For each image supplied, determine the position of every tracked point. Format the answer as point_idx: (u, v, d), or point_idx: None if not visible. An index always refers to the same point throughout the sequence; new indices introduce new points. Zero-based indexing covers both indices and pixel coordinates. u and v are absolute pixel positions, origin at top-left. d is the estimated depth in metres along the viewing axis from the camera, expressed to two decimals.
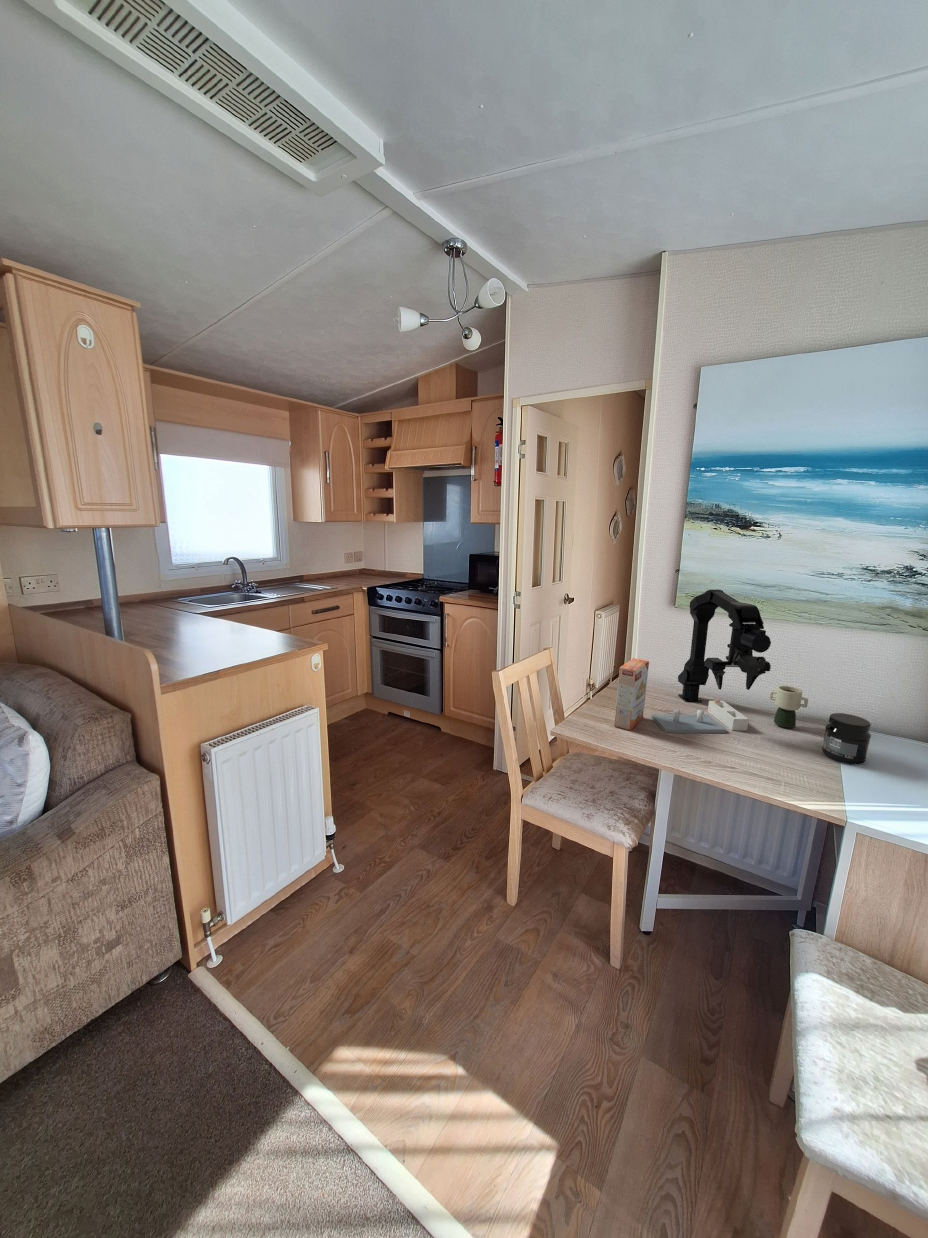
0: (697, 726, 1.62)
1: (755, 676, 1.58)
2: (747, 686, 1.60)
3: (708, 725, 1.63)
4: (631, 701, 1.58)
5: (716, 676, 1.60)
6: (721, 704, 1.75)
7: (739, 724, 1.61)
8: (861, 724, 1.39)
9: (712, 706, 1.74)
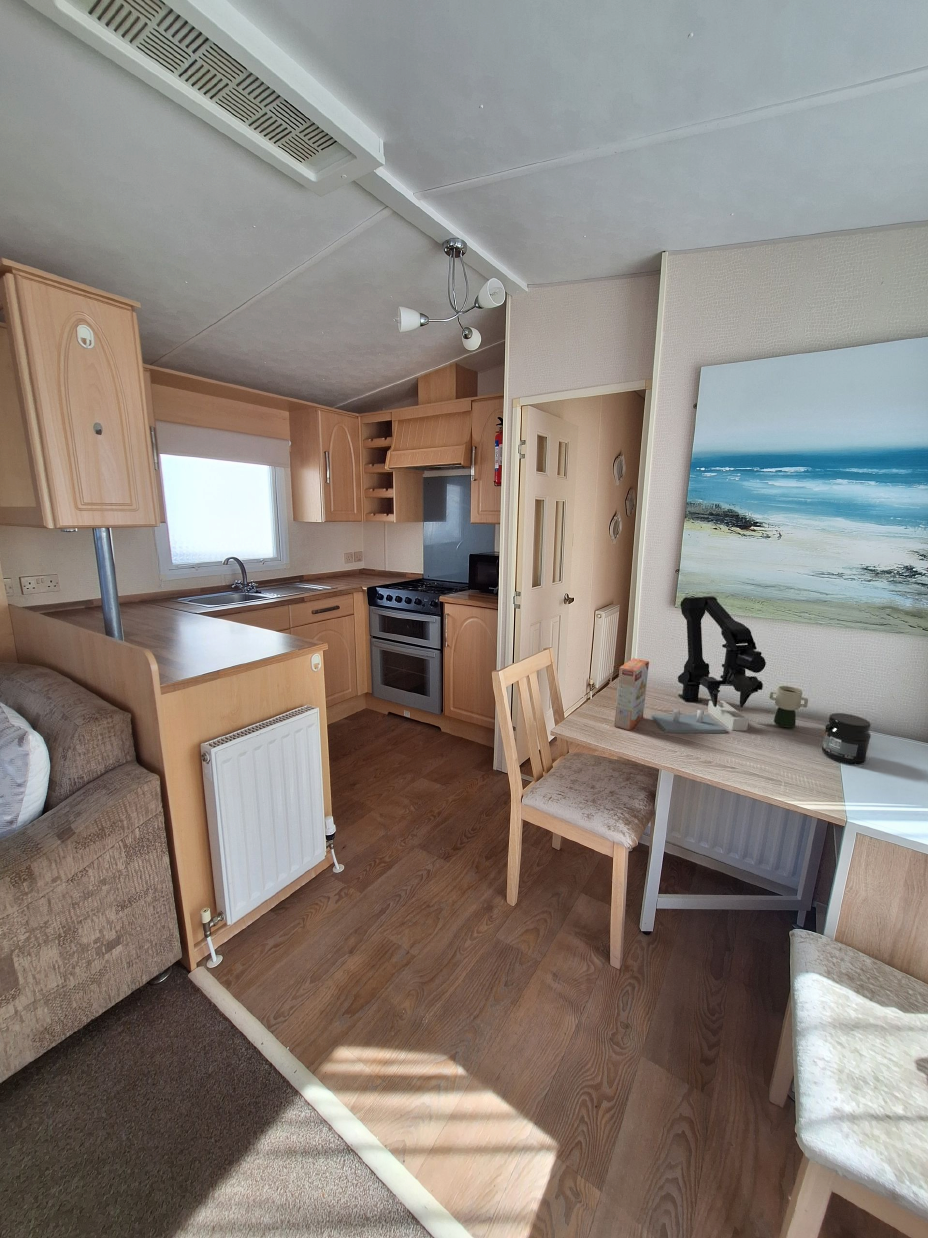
0: (697, 726, 1.62)
1: (748, 694, 1.66)
2: (741, 704, 1.68)
3: (708, 725, 1.63)
4: (631, 701, 1.58)
5: (711, 694, 1.68)
6: (721, 704, 1.75)
7: (739, 724, 1.61)
8: (861, 724, 1.39)
9: (712, 706, 1.74)
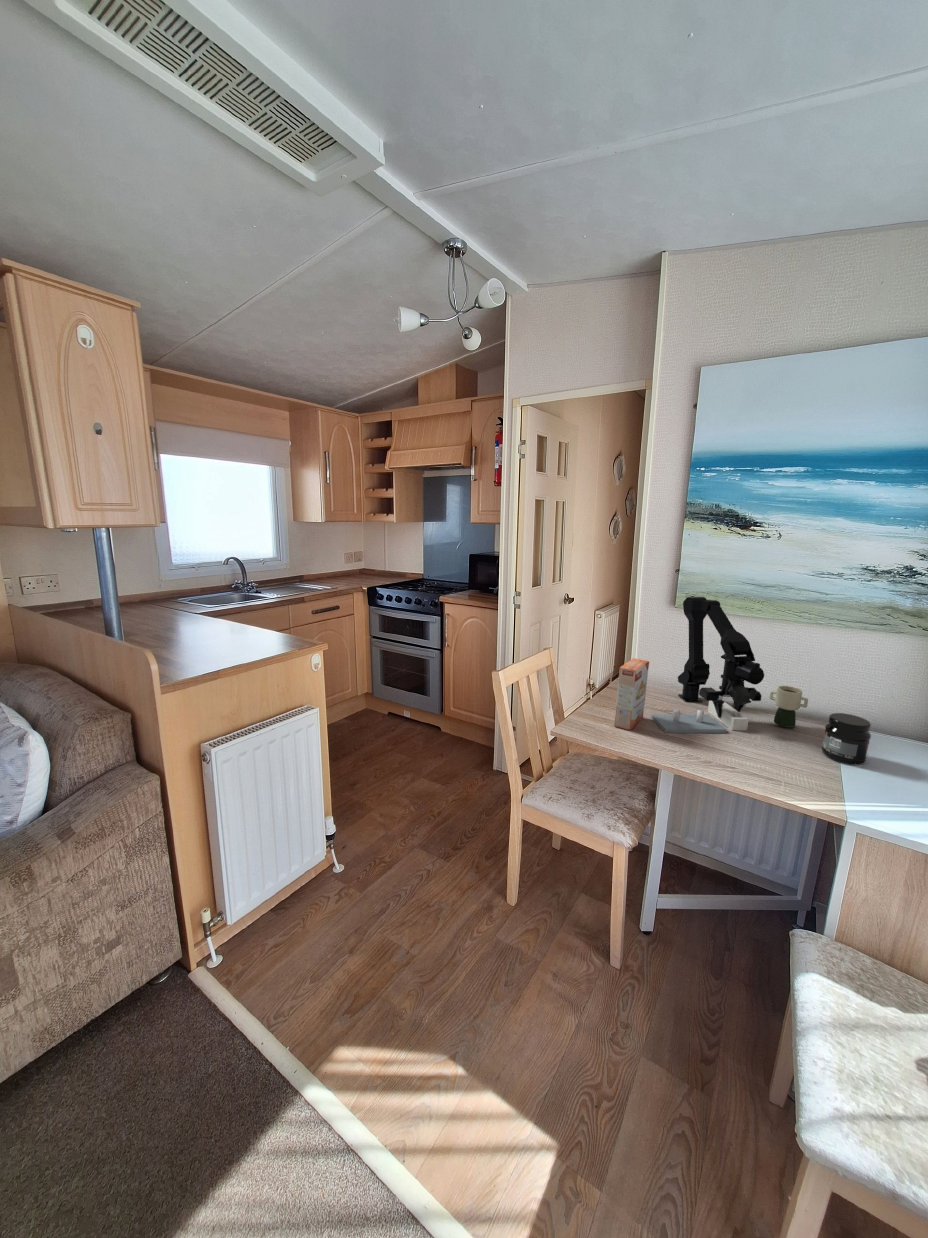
0: (697, 726, 1.62)
1: (741, 705, 1.67)
2: None
3: (708, 725, 1.63)
4: (631, 701, 1.58)
5: (716, 705, 1.69)
6: None
7: (739, 724, 1.61)
8: (861, 724, 1.39)
9: (712, 706, 1.74)
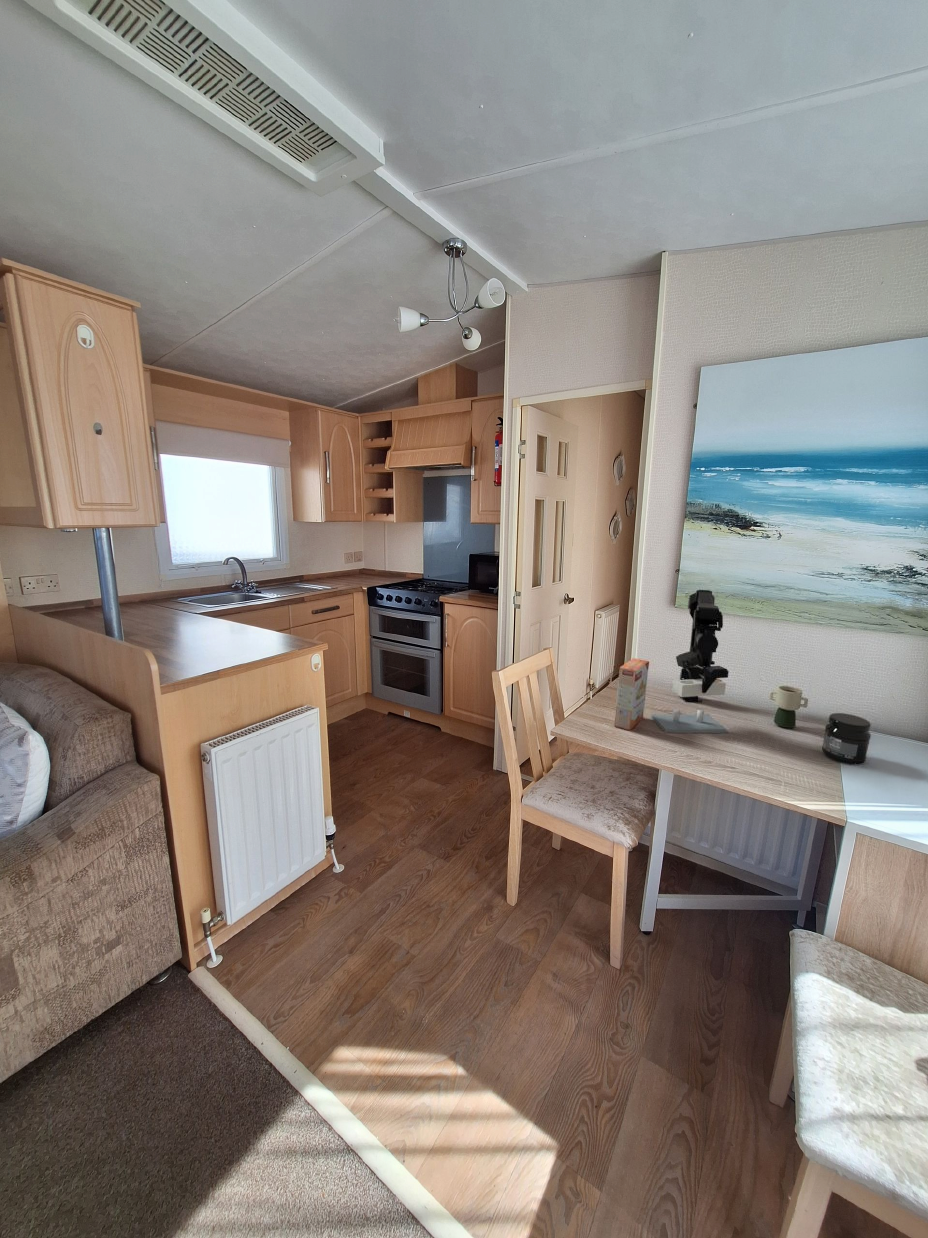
0: (697, 726, 1.62)
1: (703, 679, 1.58)
2: None
3: (708, 725, 1.63)
4: (631, 701, 1.58)
5: None
6: None
7: (676, 688, 1.62)
8: (861, 724, 1.39)
9: None
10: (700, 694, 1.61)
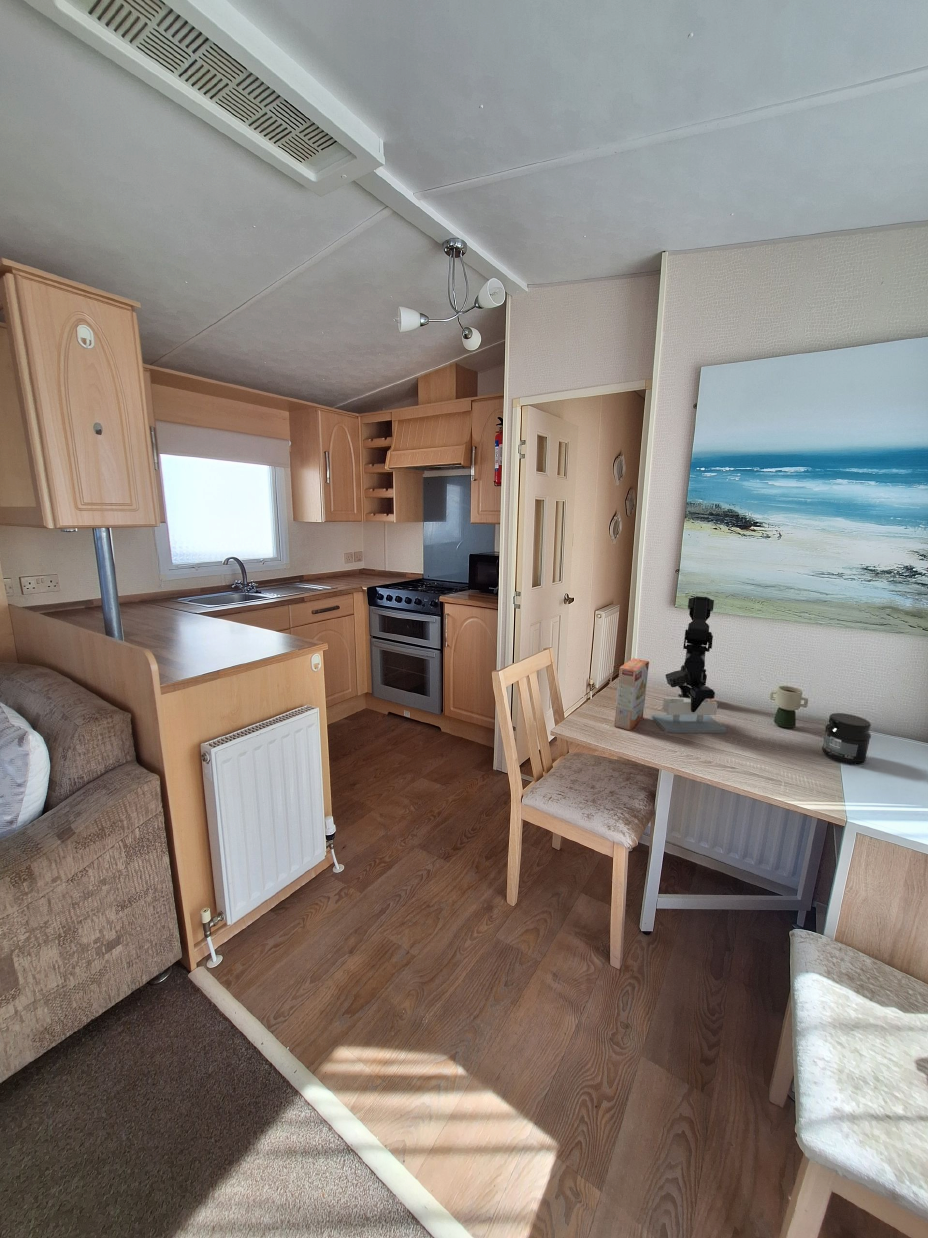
0: (697, 726, 1.62)
1: (691, 698, 1.60)
2: None
3: (708, 725, 1.63)
4: (631, 701, 1.58)
5: None
6: None
7: (665, 705, 1.64)
8: (861, 724, 1.39)
9: None
10: (689, 713, 1.62)
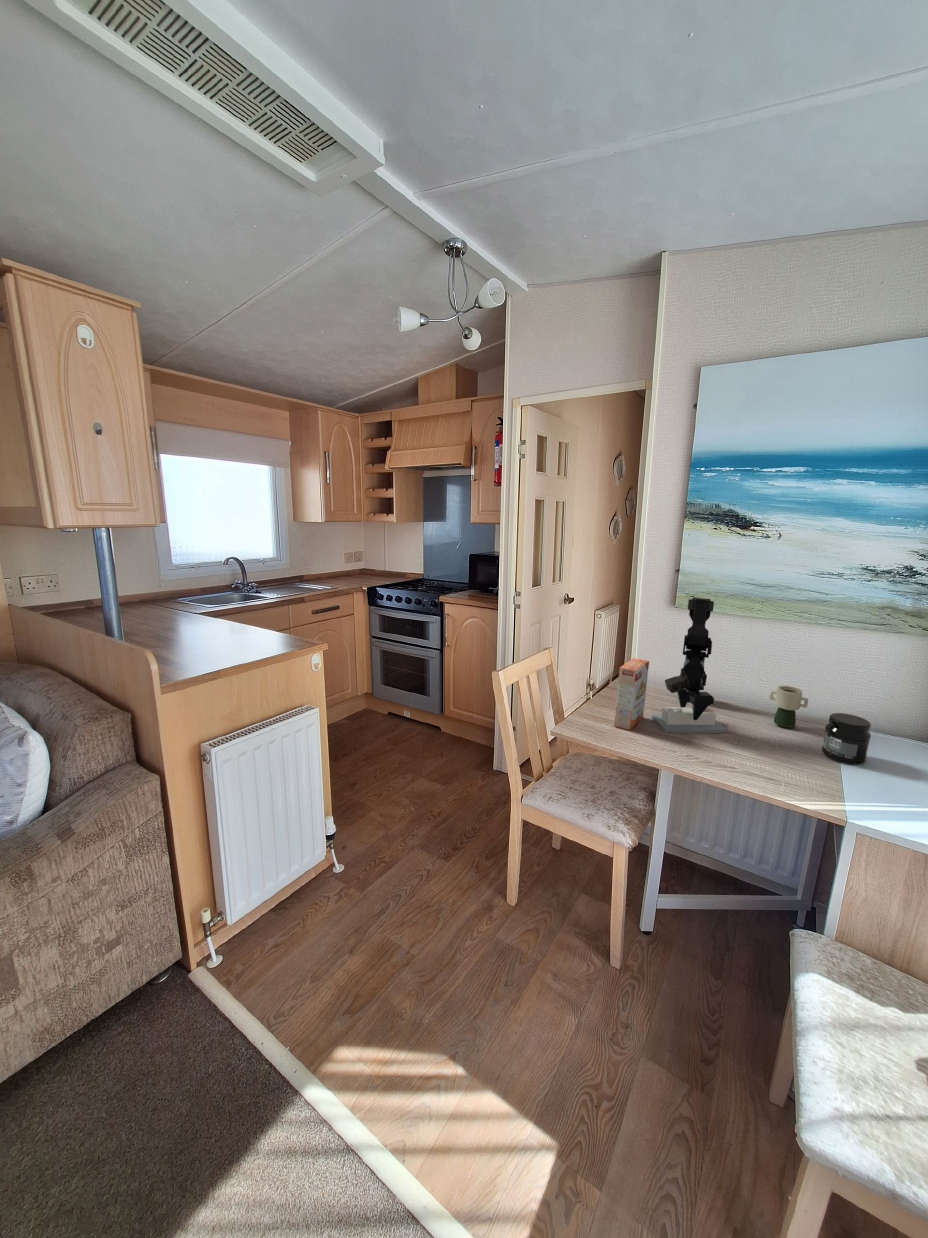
0: (697, 726, 1.62)
1: (693, 706, 1.58)
2: None
3: (708, 725, 1.63)
4: (631, 701, 1.58)
5: None
6: None
7: (664, 715, 1.65)
8: (861, 724, 1.39)
9: None
10: (688, 723, 1.63)
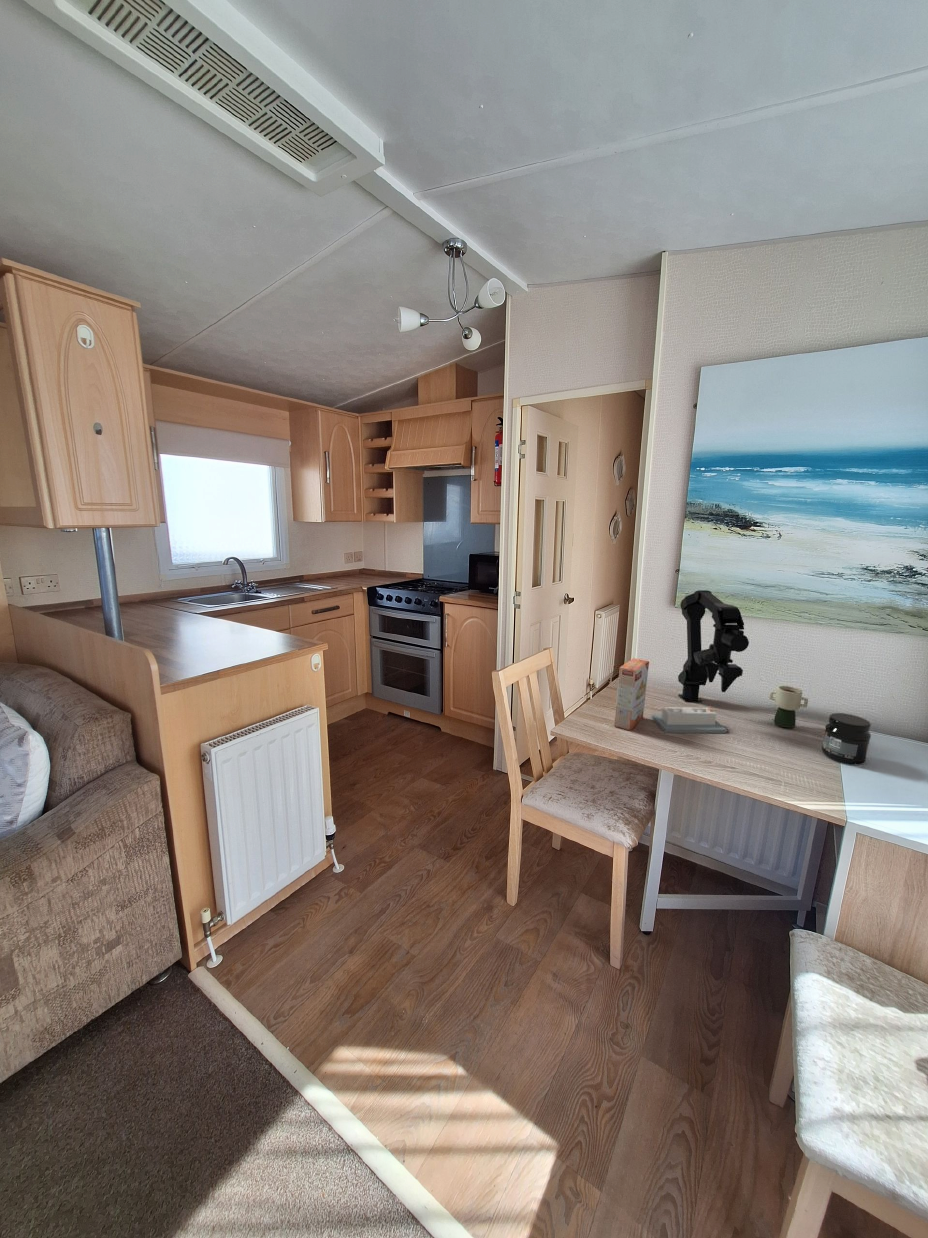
0: (697, 726, 1.62)
1: (722, 678, 1.62)
2: None
3: (708, 725, 1.63)
4: (631, 701, 1.58)
5: None
6: None
7: (664, 715, 1.65)
8: (861, 724, 1.39)
9: None
10: (688, 723, 1.63)
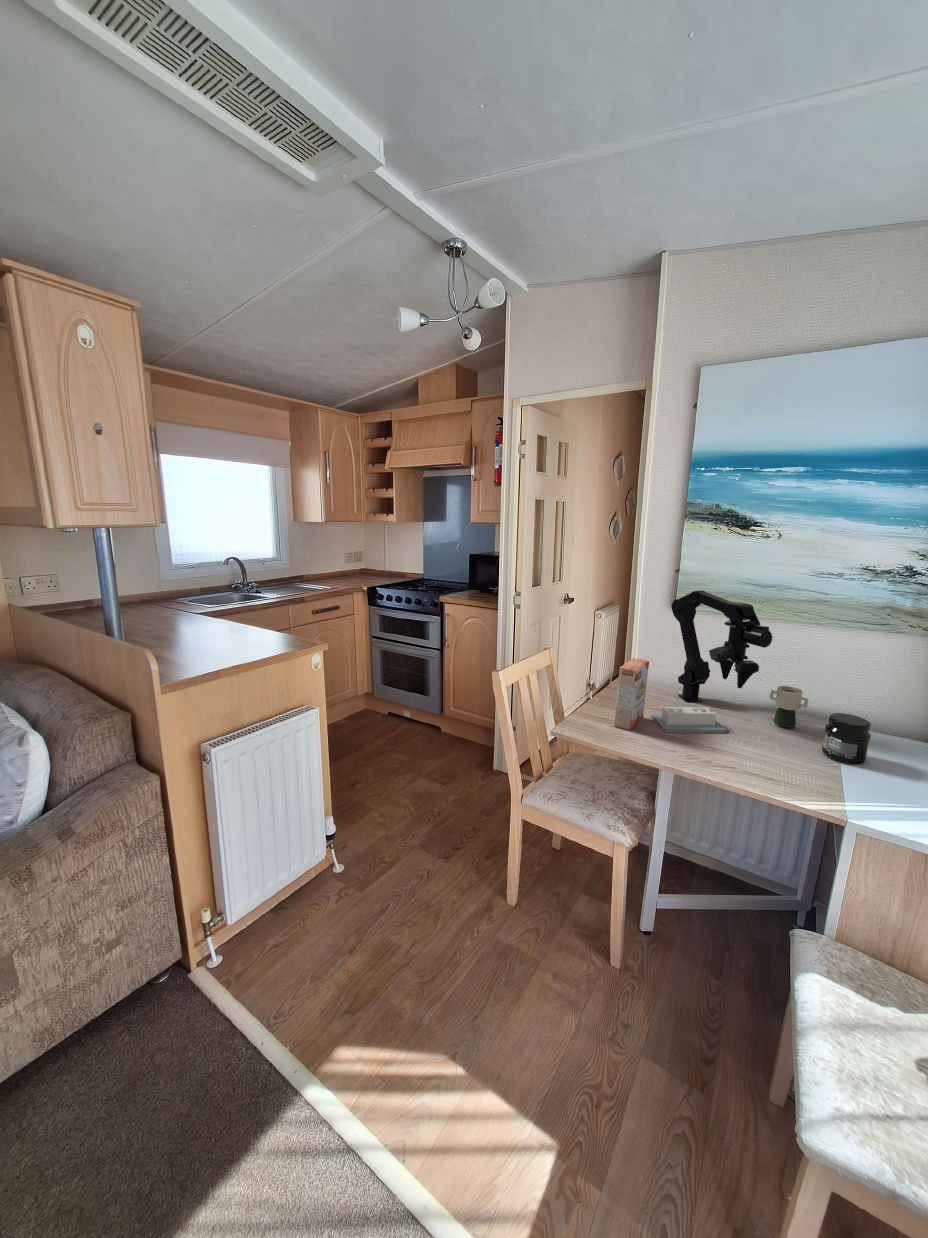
0: (697, 726, 1.62)
1: (738, 674, 1.64)
2: None
3: (708, 725, 1.63)
4: (631, 701, 1.58)
5: None
6: None
7: (664, 715, 1.65)
8: (861, 724, 1.39)
9: None
10: (688, 723, 1.63)
